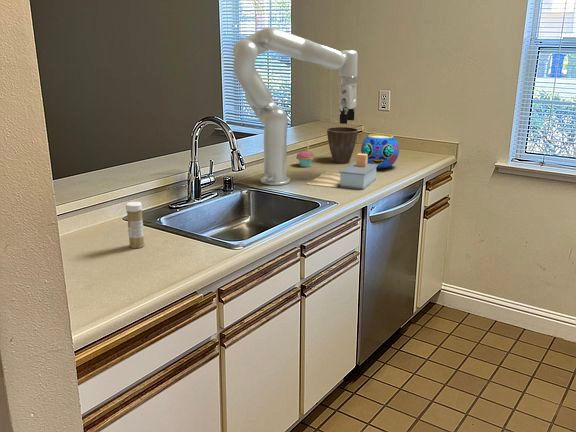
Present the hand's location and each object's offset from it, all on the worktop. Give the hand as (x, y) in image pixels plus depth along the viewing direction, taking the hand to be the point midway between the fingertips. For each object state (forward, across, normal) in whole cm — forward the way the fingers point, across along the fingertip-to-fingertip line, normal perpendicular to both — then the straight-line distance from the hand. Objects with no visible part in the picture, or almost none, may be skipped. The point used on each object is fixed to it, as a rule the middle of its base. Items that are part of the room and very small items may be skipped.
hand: (347, 121), depth 253 cm
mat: (+24, -8, +4) cm, 26 cm away
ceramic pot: (+25, +24, -9) cm, 35 cm away
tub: (+24, -8, -8) cm, 27 cm away
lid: (+18, -8, -8) cm, 22 cm away
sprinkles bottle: (+24, -107, +31) cm, 114 cm away
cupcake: (+24, +13, +24) cm, 37 cm away
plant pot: (+24, +28, +11) cm, 39 cm away
